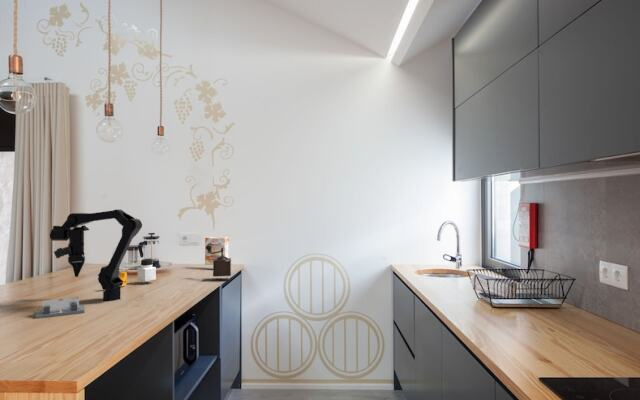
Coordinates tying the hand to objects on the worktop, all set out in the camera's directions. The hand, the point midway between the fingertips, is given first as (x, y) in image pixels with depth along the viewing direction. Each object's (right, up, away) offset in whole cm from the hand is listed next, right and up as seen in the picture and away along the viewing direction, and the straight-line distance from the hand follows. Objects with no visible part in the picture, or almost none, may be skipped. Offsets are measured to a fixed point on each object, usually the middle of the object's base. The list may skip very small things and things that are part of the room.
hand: (76, 275), depth 179 cm
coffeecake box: (+37, -12, +102) cm, 109 cm away
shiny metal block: (+7, -10, -21) cm, 24 cm away
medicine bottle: (+12, -12, +45) cm, 48 cm away
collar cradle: (+7, -11, -21) cm, 25 cm away
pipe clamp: (+3, -12, +29) cm, 31 cm away
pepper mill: (+48, -12, +62) cm, 79 cm away
